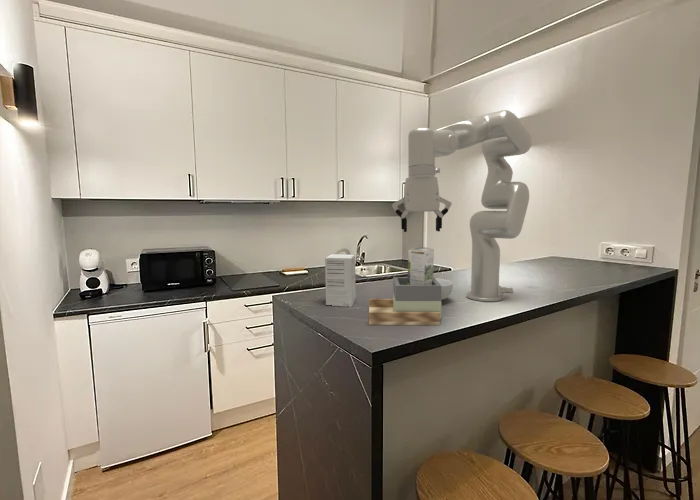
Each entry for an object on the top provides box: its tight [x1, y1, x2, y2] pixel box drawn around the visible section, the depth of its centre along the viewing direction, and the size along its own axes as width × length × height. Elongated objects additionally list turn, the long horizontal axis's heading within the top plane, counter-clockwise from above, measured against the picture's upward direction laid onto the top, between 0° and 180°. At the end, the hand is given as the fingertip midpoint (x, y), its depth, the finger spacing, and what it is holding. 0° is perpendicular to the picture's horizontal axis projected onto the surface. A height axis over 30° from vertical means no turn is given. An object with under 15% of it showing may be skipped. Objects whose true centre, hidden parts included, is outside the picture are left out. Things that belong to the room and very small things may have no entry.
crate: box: [392, 276, 442, 319], centre depth 110 cm, size 13×13×10 cm
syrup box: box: [407, 246, 435, 285], centre depth 109 cm, size 6×6×14 cm
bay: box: [368, 298, 441, 326], centre depth 111 cm, size 20×16×4 cm
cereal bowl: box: [434, 277, 453, 301], centre depth 130 cm, size 17×17×7 cm
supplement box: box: [324, 253, 357, 308], centre depth 127 cm, size 10×9×17 cm
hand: (421, 231), depth 108 cm, fingers open, 9 cm apart
